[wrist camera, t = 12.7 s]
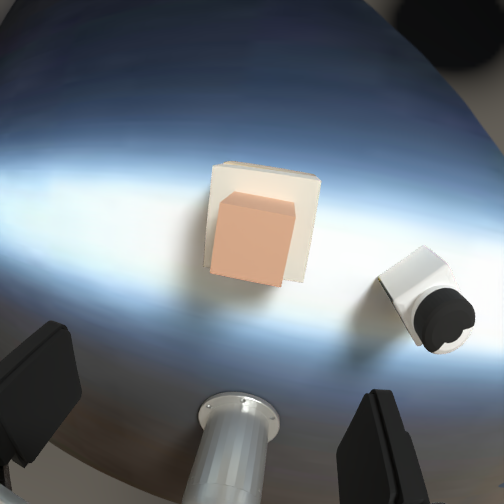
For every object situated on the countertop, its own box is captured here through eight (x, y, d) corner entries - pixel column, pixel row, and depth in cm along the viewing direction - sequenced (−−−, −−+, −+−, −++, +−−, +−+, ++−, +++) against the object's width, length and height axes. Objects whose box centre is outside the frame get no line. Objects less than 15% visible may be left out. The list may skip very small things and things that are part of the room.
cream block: (301, 265, 33) (302, 282, 28) (213, 251, 33) (202, 266, 29) (316, 176, 30) (321, 180, 26) (223, 163, 30) (212, 165, 26)
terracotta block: (282, 259, 28) (280, 287, 22) (225, 247, 28) (209, 273, 22) (294, 202, 26) (295, 216, 21) (234, 191, 27) (219, 202, 21)
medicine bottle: (376, 276, 36) (407, 327, 25) (423, 243, 34) (471, 281, 23) (400, 318, 38) (432, 375, 26) (445, 287, 36) (489, 334, 24)
